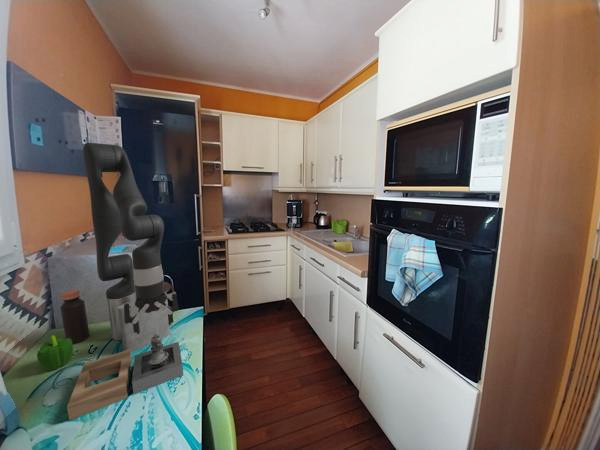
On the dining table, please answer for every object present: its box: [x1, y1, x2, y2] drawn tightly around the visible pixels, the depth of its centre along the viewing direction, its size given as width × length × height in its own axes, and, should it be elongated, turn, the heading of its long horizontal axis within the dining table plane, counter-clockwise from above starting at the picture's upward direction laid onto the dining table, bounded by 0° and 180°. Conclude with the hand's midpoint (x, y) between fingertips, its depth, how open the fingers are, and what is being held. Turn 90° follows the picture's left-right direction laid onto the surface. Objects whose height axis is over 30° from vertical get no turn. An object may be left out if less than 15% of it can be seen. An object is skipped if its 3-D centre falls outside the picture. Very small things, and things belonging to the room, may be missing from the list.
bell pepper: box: [36, 334, 74, 371], centre depth 79 cm, size 8×8×10 cm
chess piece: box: [147, 334, 168, 371], centre depth 75 cm, size 6×6×12 cm
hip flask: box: [118, 291, 172, 353], centre depth 89 cm, size 16×4×20 cm, turn 140°
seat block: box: [131, 341, 184, 395], centre depth 76 cm, size 13×13×4 cm
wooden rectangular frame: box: [66, 350, 133, 421], centre depth 70 cm, size 18×12×4 cm, turn 32°
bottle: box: [60, 289, 90, 345], centre depth 92 cm, size 7×7×20 cm
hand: (154, 328), depth 74 cm, fingers open, 8 cm apart
